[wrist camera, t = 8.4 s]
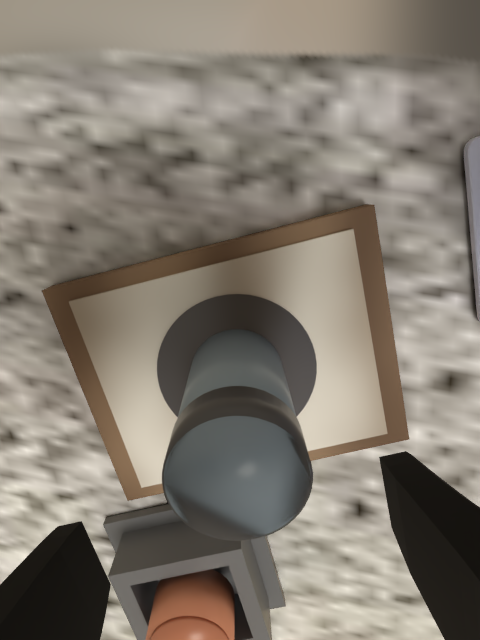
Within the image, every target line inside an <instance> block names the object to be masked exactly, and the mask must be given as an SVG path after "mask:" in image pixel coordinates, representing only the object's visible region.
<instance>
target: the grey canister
mask: <svg viewBox="0 0 480 640" xmlns="http://www.w3.org/2000/svg"><path fill="white" fill-rule="evenodd" d="M312 483H313V471H312V465H311V461H310V458H309V454H308V451H307V447H306V443H305V440H304V436H303V433H302V429H301V426H300V423H299V421H298V419H297V417H296V413H295V410H294V406H293V402H292V399H291V395H290V391H289V388H288V384H287V380H286V377H285V373H284V369H283V366H282V362H281V359H280V356H279V354H278V352H277V350H276V349H275V347H274V346H273V345H272V344H271V343H270V342H269V341H268V340H267V339H266V338H264V337H262V336H261V335H259V334H257V333H254V332H251V331H248V330H241V329H233V330H226V331H223V332H219V333H217V334H215V335H213V336H211V337H210V338H208V339H207V340H206V341H205V342H204V343H203V344H202V345H201V346H200V347H199V349H198V350H197V352H196V354H195V356H194V358H193V361H192V365H191V369H190V373H189V376H188V380H187V384H186V388H185V392H184V395H183V399H182V403H181V407H180V411H179V414H178V418H177V421H176V422H175V425H174V428H173V431H172V434H171V438H170V442H169V445H168V449H167V453H166V457H165V460H164V464H163V469H162V486H163V491H164V495H165V498H166V500H167V502H168V504H169V506H170V507H171V509H172V510H173V512H174V513H175V514H176V515H177V516H178V518H179V519H181V520H182V521H183V522H184V523H185V524H186V525H188V526H189V527H191V528H192V529H194V530H196V531H198V532H200V533H202V534H204V535H207V536H209V537H213V538H217V539H222V540H231V541H243V540H252V539H257V538H261V537H264V536H267V535H270V534H272V533H274V532H276V531H278V530H280V529H282V528H283V527H285V526H286V525H288V524H289V523H290V522H291V521H292V520H293V519H295V518H296V516H297V515H298V514H299V513H300V512H301V510H302V509H303V508H304V506H305V504H306V502H307V500H308V498H309V496H310V493H311V489H312Z"/></svg>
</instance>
